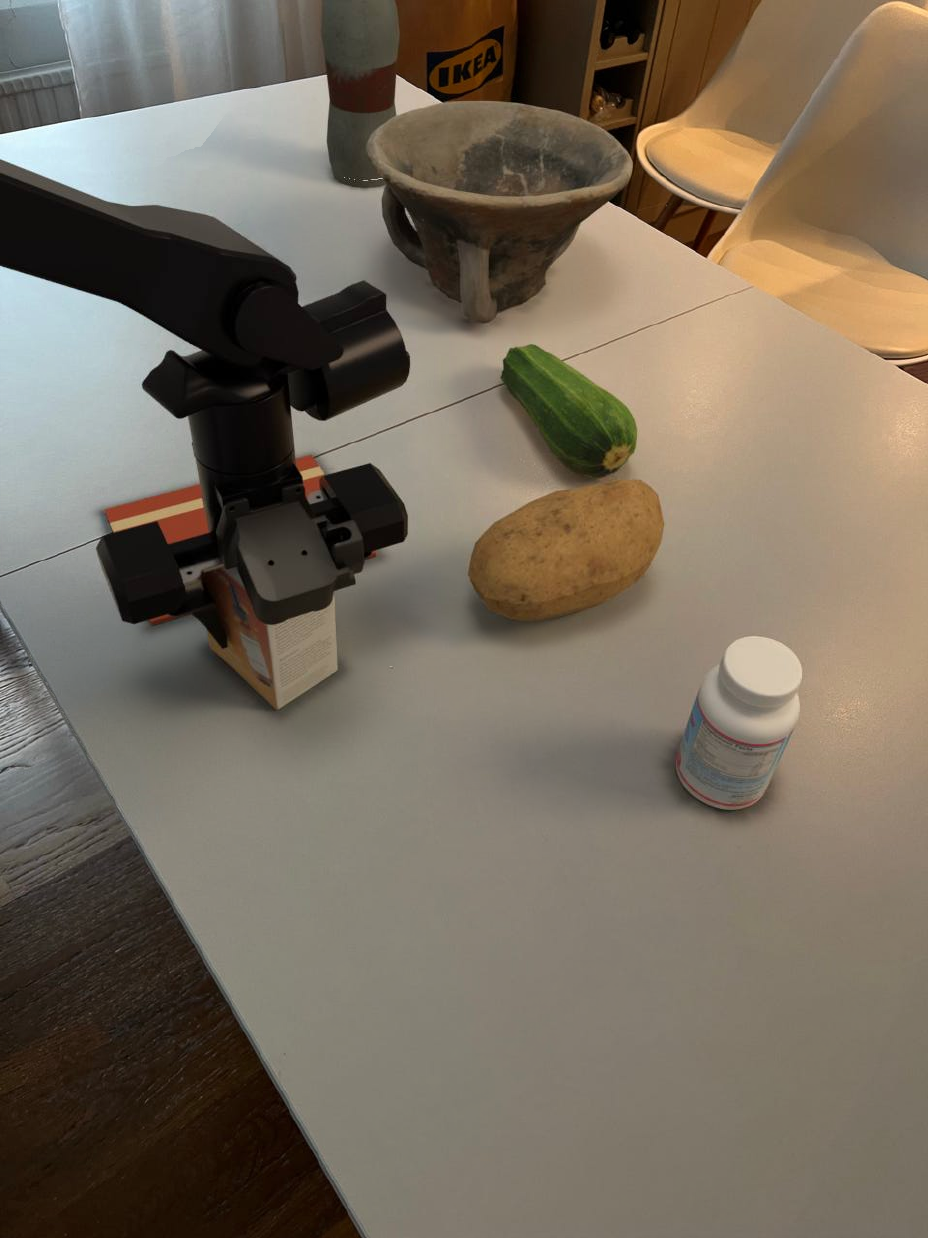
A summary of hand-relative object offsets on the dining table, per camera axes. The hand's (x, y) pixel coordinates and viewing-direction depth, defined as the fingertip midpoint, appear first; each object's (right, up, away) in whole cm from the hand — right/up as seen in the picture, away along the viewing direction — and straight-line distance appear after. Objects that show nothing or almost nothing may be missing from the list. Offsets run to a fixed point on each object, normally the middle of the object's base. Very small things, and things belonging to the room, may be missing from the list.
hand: (269, 629), depth 69 cm
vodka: (0, +58, +60) cm, 84 cm away
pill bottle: (+30, -10, -3) cm, 32 cm away
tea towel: (-5, +8, +12) cm, 15 cm away
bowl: (+17, +38, +43) cm, 60 cm away
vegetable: (+22, +18, +24) cm, 37 cm away
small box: (0, -2, +3) cm, 4 cm away
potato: (+21, +2, +8) cm, 23 cm away
